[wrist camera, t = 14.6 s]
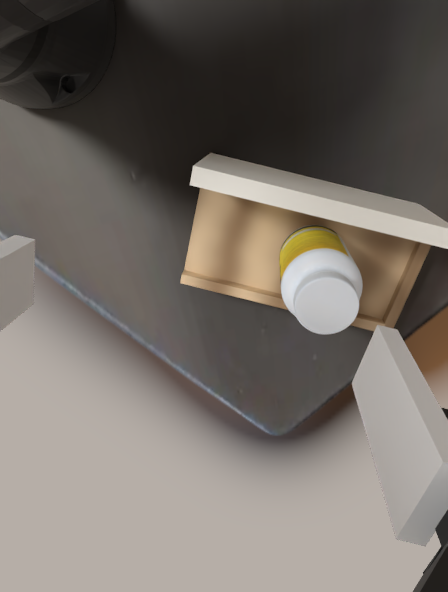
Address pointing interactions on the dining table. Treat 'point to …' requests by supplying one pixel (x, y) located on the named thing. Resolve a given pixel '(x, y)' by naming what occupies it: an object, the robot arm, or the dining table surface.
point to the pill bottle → (319, 279)
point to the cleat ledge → (266, 249)
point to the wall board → (320, 199)
